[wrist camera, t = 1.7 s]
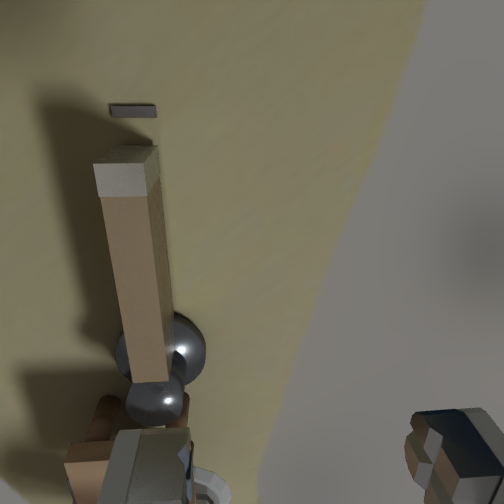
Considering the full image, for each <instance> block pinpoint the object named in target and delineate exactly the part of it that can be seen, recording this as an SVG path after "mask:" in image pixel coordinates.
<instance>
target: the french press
mask: <svg viewBox="0 0 504 504" xmlns="http://www.w3.org/2000/svg"><path fill="white" fill-rule="evenodd" d="M193 475H194V485H195V495H196V504H230V500H231V495H232V494H231V492H230V489H229V487H228V484H227V482H225V481H224V480H223V479H222V478H220V477H219V476H218V475H217V474H215V473H213V472H210V471H207V470H204V469H201V468H198V467H193Z"/></svg>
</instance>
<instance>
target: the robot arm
mask: <svg viewBox="0 0 504 504" xmlns="http://www.w3.org/2000/svg"><path fill="white" fill-rule="evenodd" d="M410 424H411V426H412V428H413V431H412V432H411V433H410V434H409V435H408V436H407V437H406V442H405V447H404V448H405V458H406V462H407V465H408V469H409V471H410V473H411V475H412V478H413V480H414V481H415V482H416V483H417V484H418V485H420V486H421V487H422V488H423V489H424V490H425V496H424V503H425V504H504V434H503V432H502V431H501V430H500V428H499V427H498V426H497V425H496V423H495V422H494V421H493V420H492V418H491V417H490V416H489V415H488V413H487V412H486V411H485V410H483V409H482V408H465V409H444V410H431V411H420V412H415V413H414V414H413V415H412V418H411V422H410ZM190 442H191V435H190V428H189V427H179V428H152V429H131V430H120V431H119V432H118V434H117V436H116V438H115V441H114V445H113V448H112V452H111V455H110V459H109V462H108V466H107V469H106V473H105V476H104V480H103V484H102V487H101V491H100V494H99V498H98V501H97V504H189V502H190V500H191V499H192V492H193V456H192V451H191V450H190Z"/></svg>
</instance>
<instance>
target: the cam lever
mask: <svg viewBox="0 0 504 504" xmlns="http://www.w3.org/2000/svg"><path fill="white" fill-rule="evenodd" d="M93 167H94V173H95V179H96V184H97V190H98V196H99V197H100V199H101V205H102V210H103V216H104V222H105V227H106V233H107V239H108V244H109V250H110V256H111V261H112V267H113V273H114V278H115V284H116V290H117V295H118V301H119V307H120V312H121V318H122V324H123V331H122V333H121V335H120V338H119V340H118V343H117V346H116V350H115V360H116V363H117V366H118V368H119V370H120V371H121V373H122V374H123V375H124V376H125V377H126V378H127V379H128V380H130V381H131V385H130V389H129V392H128V396H127V399H126V403H125V407H126V411H127V413H128V415H129V416H130V417H131V418H132V419H133V420H134V421H136V422H138V423H140V424H143V425H147V426H162V425H166V424H169V423H171V422H173V421H174V420H176V419H177V418H178V417H179V415H180V414H181V412H182V407H183V398H184V389H185V385H187V384H189V383H190V382H192V381H193V380H194V379H195V378H196V377H197V376H198V375H199V374H200V373H201V371H202V369H203V367H204V364H205V357H206V344H205V340H204V337H203V335H202V333H201V332H200V330H199V329H198V328H197V327H196V326H195V325H194V324H193V323H192V322H190V321H189V320H187V319H185V318H183V317H181V316H178V315H174V310H173V300H172V290H171V280H170V271H169V261H168V251H167V241H166V232H165V222H164V212H163V202H162V192H161V183H160V163H159V153H158V145H139V146H116V147H115V148H113V149H112V150H111V151H109V152H108V153H107V154H105V155H104V156H103V157H101V158H100V159H99V160H97V161H96V162H95V163H93Z"/></svg>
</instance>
